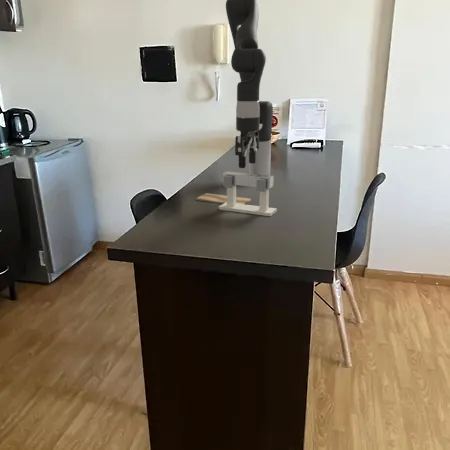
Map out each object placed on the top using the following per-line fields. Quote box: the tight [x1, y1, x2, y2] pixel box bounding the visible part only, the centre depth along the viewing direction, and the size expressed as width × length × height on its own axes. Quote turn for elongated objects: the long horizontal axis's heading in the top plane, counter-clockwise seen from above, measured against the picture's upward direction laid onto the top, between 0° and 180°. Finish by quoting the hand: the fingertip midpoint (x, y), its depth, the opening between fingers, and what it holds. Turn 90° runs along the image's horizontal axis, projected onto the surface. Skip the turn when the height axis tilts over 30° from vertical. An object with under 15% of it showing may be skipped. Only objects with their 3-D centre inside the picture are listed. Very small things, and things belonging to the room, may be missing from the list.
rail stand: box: [218, 175, 278, 217], centre depth 153 cm, size 7×19×12 cm, turn 64°
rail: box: [222, 170, 275, 190], centre depth 152 cm, size 4×17×4 cm, turn 64°
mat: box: [195, 192, 252, 205], centre depth 167 cm, size 8×19×1 cm, turn 64°
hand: (247, 165), depth 150 cm, fingers open, 8 cm apart
